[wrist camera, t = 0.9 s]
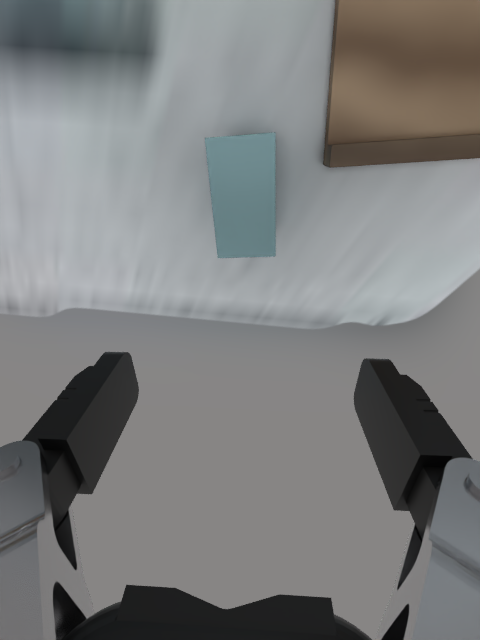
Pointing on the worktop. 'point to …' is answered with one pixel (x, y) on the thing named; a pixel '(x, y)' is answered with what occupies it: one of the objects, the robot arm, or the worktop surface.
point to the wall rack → (403, 82)
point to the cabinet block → (243, 194)
